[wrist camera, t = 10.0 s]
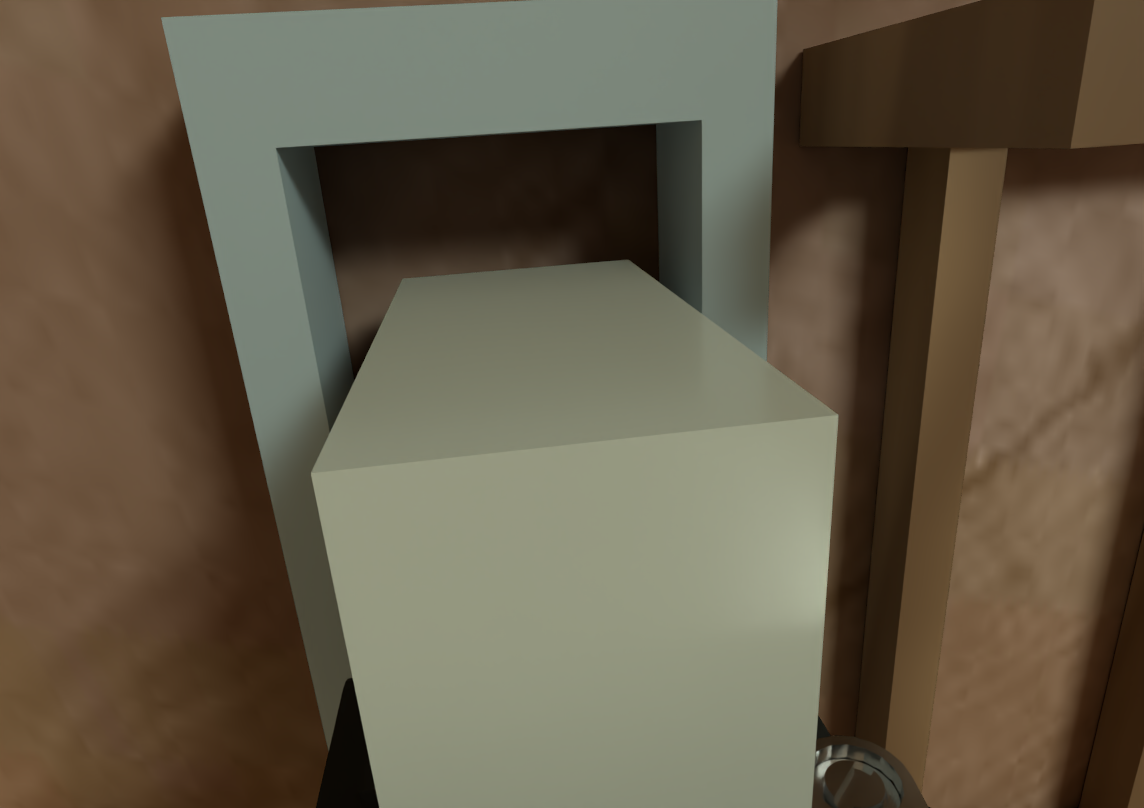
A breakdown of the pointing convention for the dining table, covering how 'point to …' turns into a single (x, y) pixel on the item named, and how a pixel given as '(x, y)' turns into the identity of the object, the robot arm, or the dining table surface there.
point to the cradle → (449, 110)
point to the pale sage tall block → (578, 549)
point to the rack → (967, 307)
